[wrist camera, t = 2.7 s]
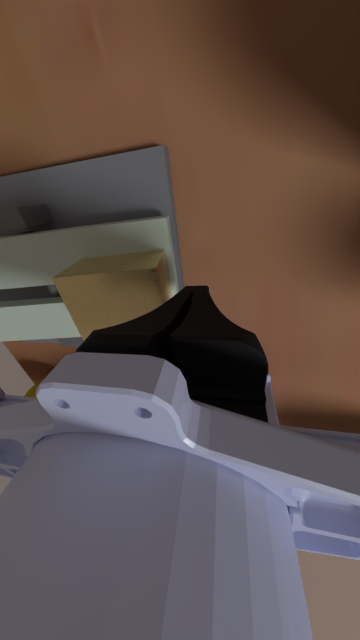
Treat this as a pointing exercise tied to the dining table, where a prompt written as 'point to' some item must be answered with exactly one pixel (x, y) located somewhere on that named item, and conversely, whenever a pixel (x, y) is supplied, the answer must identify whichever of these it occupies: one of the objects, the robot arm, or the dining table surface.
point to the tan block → (113, 288)
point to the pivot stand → (87, 203)
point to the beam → (58, 254)
